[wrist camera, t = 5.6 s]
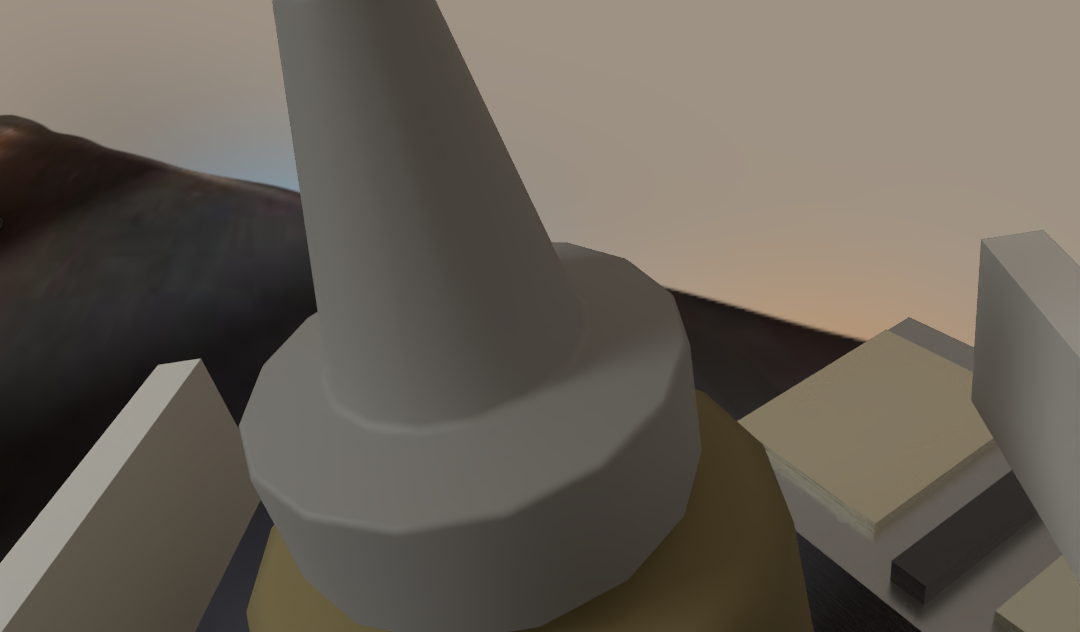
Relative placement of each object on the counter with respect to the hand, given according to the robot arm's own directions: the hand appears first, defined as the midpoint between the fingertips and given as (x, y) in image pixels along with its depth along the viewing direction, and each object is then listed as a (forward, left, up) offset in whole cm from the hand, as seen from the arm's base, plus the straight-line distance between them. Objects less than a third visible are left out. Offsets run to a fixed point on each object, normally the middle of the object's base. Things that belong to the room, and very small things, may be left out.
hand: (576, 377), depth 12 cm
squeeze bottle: (+2, -2, -12) cm, 12 cm away
